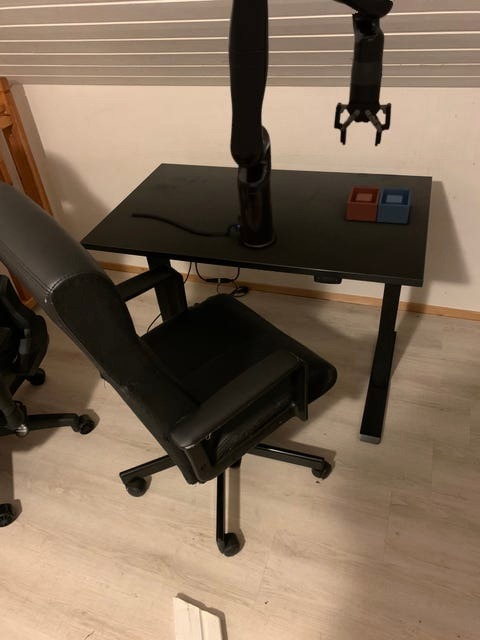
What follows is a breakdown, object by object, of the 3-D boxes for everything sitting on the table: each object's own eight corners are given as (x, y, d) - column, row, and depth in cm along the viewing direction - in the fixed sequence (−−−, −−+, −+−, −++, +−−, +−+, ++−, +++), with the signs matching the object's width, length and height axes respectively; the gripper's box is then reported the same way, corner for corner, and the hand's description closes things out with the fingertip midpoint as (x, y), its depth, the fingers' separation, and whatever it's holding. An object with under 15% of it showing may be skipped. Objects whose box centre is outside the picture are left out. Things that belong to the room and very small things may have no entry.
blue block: (384, 214, 141) (386, 201, 138) (385, 208, 144) (387, 194, 142) (399, 215, 140) (401, 202, 137) (400, 208, 143) (402, 195, 140)
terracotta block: (355, 212, 144) (356, 199, 141) (356, 206, 147) (357, 193, 144) (369, 213, 143) (370, 200, 140) (371, 207, 146) (372, 193, 143)
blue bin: (376, 221, 140) (378, 204, 136) (380, 204, 148) (381, 187, 144) (406, 223, 137) (409, 206, 134) (409, 205, 145) (411, 189, 142)
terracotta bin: (346, 219, 143) (347, 202, 139) (351, 202, 150) (352, 186, 147) (375, 221, 140) (377, 204, 136) (379, 204, 148) (380, 187, 144)
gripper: (334, 83, 114) (331, 149, 125) (394, 83, 110) (386, 151, 121) (338, 75, 120) (335, 138, 130) (396, 74, 116) (388, 140, 126)
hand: (360, 144), depth 126 cm, fingers open, 8 cm apart
